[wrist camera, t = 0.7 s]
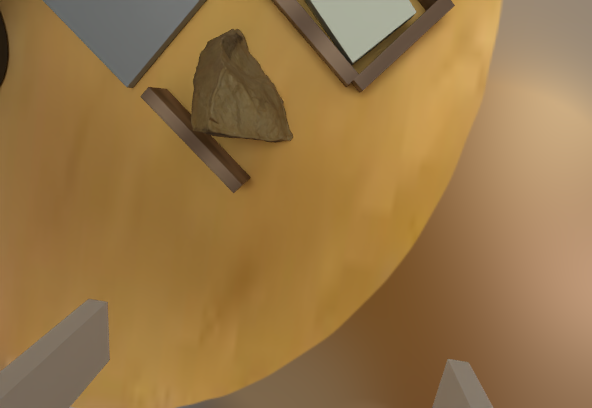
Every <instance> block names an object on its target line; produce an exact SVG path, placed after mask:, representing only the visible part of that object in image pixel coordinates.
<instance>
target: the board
mask: <svg viewBox="0 0 592 408" xmlns="http://www.w3.org/2000/svg"><path fill="white" fill-rule="evenodd" d="M43 1H44V2H45V3H46V4H47V5H48V6H49V7H50V8H51V9H52V10H53V11H54V12H55V13H56V15H57V16H58V17H59V18H60V19H61V20H62V21H63V22H64V23H65V24H66V25H67V26H68V27H69V28H70V29H71V30H72V31H73V32H74V33H75V34H76V35H77V36H78V37H79V38H80V39H81V40H82V41H83V42H84V43H85V44H86V46H87V47H88V48H89V49H90V50H91V51H92V52H93V53H94V54H95V55H96V56H97V57H98V58H99V59H100V60H101V61H102V62H103V63H104V64H105V65H106V66H107V67H108V68H109V69H110V70H111V71H112V72H113V73H114V74H115V75H116V76H117V78H118V79H119V80H120V81H121V82H122V83H123V84H124V85H125V86H126V87H129V88H133V87H134V86H135V84H136V83H137V82H138V81H139V80H140V79H141V77H142V76H143V75H144V74H145V73H146V71H147V70H148V69H149V68H150V67H151V65H152V64H153V63H154V62H155V61H156V59H157V58H158V57H159V56H160V55H161V54H162V52H163V51H164V50H165V49H166V48H167V46H168V45H169V44H170V43H171V42H172V40H173V39H174V38H175V37H176V36H177V34H178V33H179V32H180V31H181V30H182V29H183V27H184V26H185V25H186V24H187V23H188V21H189V20H190V19H191V18H192V17H193V15H194V14H195V13H196V12H197V11H198V10H199V8H200V7H201V6H202V5H203V4H204V2H205V1H206V0H43Z"/></svg>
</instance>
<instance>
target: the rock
mask: <svg viewBox="0 0 592 408" xmlns="http://www.w3.org/2000/svg"><path fill="white" fill-rule="evenodd" d="M193 84H194V93H193V100H192V114H191V123H192V127H193V131H197V132H201V133H204V134H207V135H213V136H219V137H229V138H245V139H255V140H264V141H267V142H280V141H286V140H290V141H291V139H292V138H293V134H292V133H291V132H290V130H289V127H288V122H287V119H286V114H285V109H284V106H283V100H282V99H281V97H280V96H279V94H278V92H277V90H276V88H275V86H274V84H273V83H272V82H271V81H270V79H269V78H268V76H267V75H265V74H264V72H263V71H262V69H261V67H260V65H259V63H258V62H257V61H256V60H255V58H253V57H252V55H251V54H250V53H249V51H248V48H247V45H246V42H245V38H244V36H243V34H242V33H241V32H240V30H239V29H236V30H234V29H231V30H230V31H228V32H226V33H224V34H222V35H220V36H219V37H216V38H214V39H212V40H210V41H209V42H207V46H206V47H205V49H204V50H203V51H202V52H201V54H200V57H199V63H198V66H197V67H196V73H195V76H194V80H193Z"/></svg>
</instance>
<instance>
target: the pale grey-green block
mask: <svg viewBox="0 0 592 408" xmlns="http://www.w3.org/2000/svg"><path fill="white" fill-rule="evenodd" d="M305 2H306V3H307V5H308V6H309V8H310V9H311V11H312V12H313V14H314V15H315V16H316V18H317V19H318V21H319V22H320V24H321V25H322V27H323V28H324V30H325V31H326V33H327V34H328V35H329V37H330V38H331V40H332V41H333V43H334V44H335V46H336V47H337V49H338V50H339V51H340V53H341V54H342V55H343V56H344V57H345V59H346V60H347V61H348V62H349V63H350V64H351V65H353V64H354V63H355V62H357V61H358V60H359V59H360V58H362V57H363V56H364V55H365V54H367V53H368V52H369V51H370V50H372V49H373V48H374V47H375V46H377V45H378V44H379V43H381V42H382V41H383V40H384V39H386V38H387V37H388V36H389V35H391V34H392V33H393V32H394V31H396V30H397V29H398V28H399V27H401V26H402V25H403V24H404V23H406V22H407V21H408V20H410V19H411V18H412V17H413V16H414V14H415V13H416V11H415V9H414V7H413V6H412V4H411V3H410V1H409V0H305Z"/></svg>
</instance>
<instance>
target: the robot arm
mask: <svg viewBox="0 0 592 408" xmlns="http://www.w3.org/2000/svg"><path fill="white" fill-rule="evenodd" d="M6 64H7V39H6V33H5V28H4V24H3V21H2V18H1V15H0V84H1V82H2V79H3V77H4V73H5V69H6ZM109 360H110V358H109V330H108V302H104V301H98V300H92V299H88V300H87V301H85V302H84V303H83V304H82V305H81V306H79V307H78V308H77V309H76V310H75V311H73V312H72V313H71V314H70V315H68V316H67V317H66V318H65V319H64V320H62V321H61V322H60V323H59V324H58V325H56V326H55V327H54V328H53V329H51V330H50V331H49V332H48V333H47V334H45V335H44V336H43V337H42V338H41V339H39V340H38V341H37V342H36V343H34V344H33V345H32V346H31V347H30V348H28V349H27V350H26V351H25V352H24V353H22V354H21V355H20V356H19V357H18V358H16V359H15V360H14V361H13V362H11V363H10V364H9V365H8V366H7V367H5V368H4V369H3V370H2V371H1V372H0V408H69V407H70V406H71V405H72V404H73V403H74V401H75V400H76V399H77V398H78V397H79V396H80V394H81V393H82V392H83V391H84V390H85V388H86V387H87V386H88V385H89V384H90V383H91V381H92V380H93V379H94V378H95V377H96V375H97V374H98V373H99V372H100V371H101V369H102V368H103V367H104V366H105V365H106V364H107V362H108V361H109ZM432 408H493V406H492V404H491V403H490V401H489V399H488V397H487V395H486V393H485V392H484V390H483V388H482V386H481V384H480V383H479V381H478V379H477V377H476V375H475V373H474V372H473V370H472V368H471V366H470V364H469V363H468V362H463V361H457V360H451V359H448V360H447V363H446V366H445V370H444V373H443V376H442V379H441V382H440V385H439V388H438V392H437V395H436V398H435V401H434V404H433V407H432Z"/></svg>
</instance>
